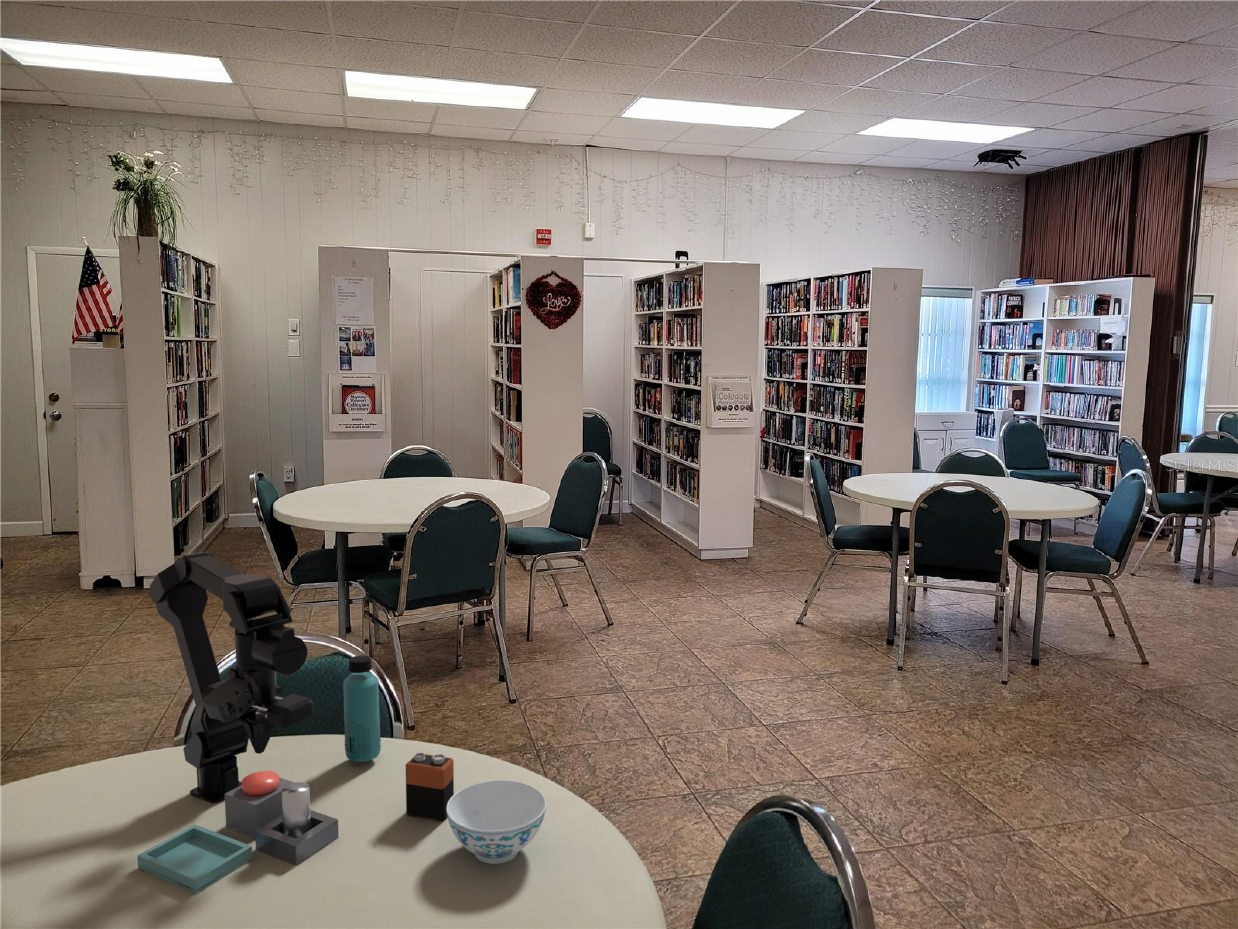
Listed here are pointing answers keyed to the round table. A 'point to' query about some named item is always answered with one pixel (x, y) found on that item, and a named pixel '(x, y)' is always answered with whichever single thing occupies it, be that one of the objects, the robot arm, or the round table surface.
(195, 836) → the tray
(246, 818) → the block
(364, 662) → the beverage bottle
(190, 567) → the robot arm
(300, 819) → the shiny silver cylinder
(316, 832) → the socket
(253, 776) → the release button
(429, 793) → the battery
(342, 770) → the round table surface
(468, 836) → the chinaware
